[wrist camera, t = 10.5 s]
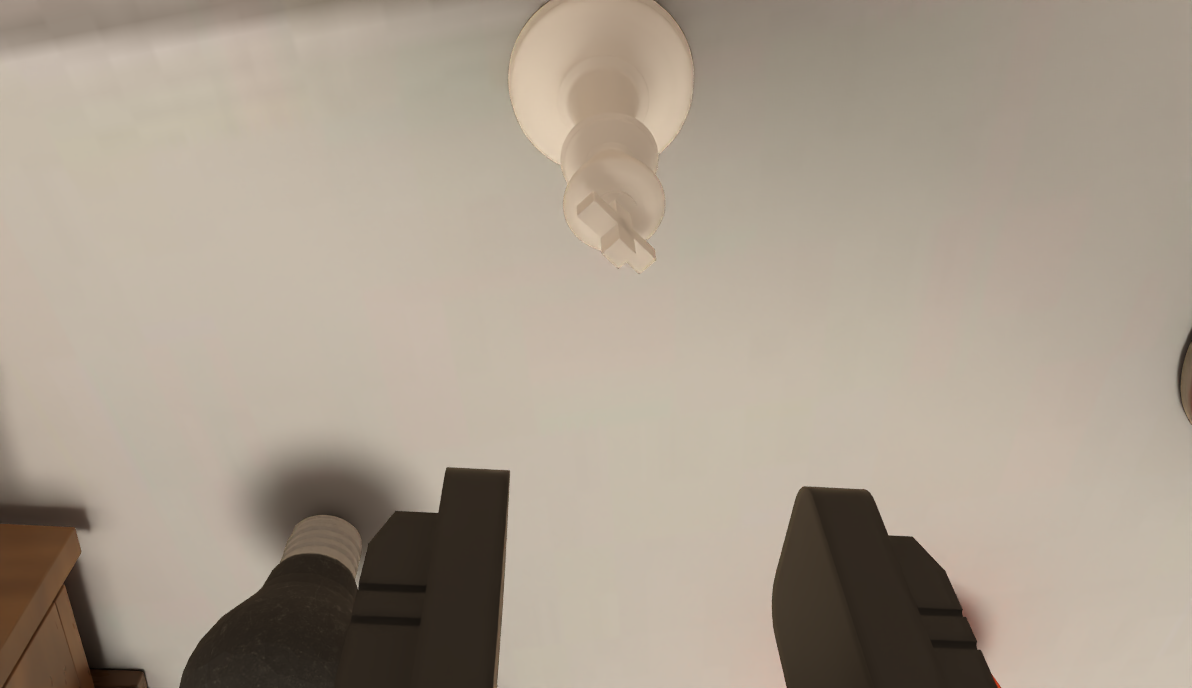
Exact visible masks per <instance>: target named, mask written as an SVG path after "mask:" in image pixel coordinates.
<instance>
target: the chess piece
mask: <svg viewBox="0 0 1192 688" xmlns="http://www.w3.org/2000/svg"><path fill="white" fill-rule="evenodd" d="M508 86H509V94H510V99H511V103H512V106H513V109H514V112H515V115H516V118H517V120H518V123H519V125H520V127H521V128H522V130H523V132H524V133H525V135H526V136H527V138H528V139H529V140H530V142H531V143H532V144H533V145H534V146H535V147H536V148H537V149H538V150H539V151H540V152H541V153H542V154H544V155H545V156H546V157H548V158H549V159H550V160H552V161H554V162H555V163H557V164H559V165H561V169H562V173H563V175H564V178H565V180H566V182H567V183H568V185H567V188H566V190H565V194H564V200H563V209H564V215H565V219H566V221H567V224H568V226H569V228H570V229H571V231H572V232H573V233H574V234H575V236H576V237H577V238H578V239H580V240H581V241H582V242H584V243H585V244H587V245H588V246H590V247H593V248H595V249H598V250H602V254H603V255H604V256H605V257H606V258H607V259H608V260H609V261H610V262H611V263H612V264H613V265H614V266H616V267H617V268H618V269H619V268H620V267H621V266H622V265H624V264H625V263H626V262H627V263H628V264H629V265H630V266H631V267H632V268H633V269H634V270H635V271H636V272H637V273H638V274H640V273H641V272H643V271H644V270H645V269H646V268H647V267H649V266H650V265H651V264H652V263H653V262H655V261H656V254H655V249H654V248H653V247H652V246H651V245H650V244H649V243H647V242H646V240H647V239H649V238H650V237H651V236H652V235H653V234H654V232H655V231H656V230H657V228H658V227H659V225H660V223H661V221H662V218H663V215H664V211H665V195H664V191H663V187H662V185H661V183H660V181H659V179H658V178H657V176H656V175H655V174H656V171H657V168H658V161H659V154H660V153H661V152H662V151H663V150H664V149H665V148H666V147H667V146H668V145H669V144H670V143H671V142H672V141H673V139H674V138H675V137H676V135H677V134H678V132H679V131H680V129H681V128H682V126H683V124H684V122H685V120H686V117H687V115H688V112H689V109H690V105H691V101H692V95H693V86H694V67H693V60H692V55H691V51H690V48H689V45H688V43H687V40H686V38H685V36H684V34H683V32H682V30H681V29H680V27H679V26H678V24H677V23H676V21H675V20H674V19H673V18H672V16H671V15H670V14H669V13H668V12H667V11H666V10H665V9H664V8H663V7H661V6H660V5H659V4H658V3H656V2H655V1H653V0H551V1H549V2H548V3H546V4H545V5H544V6H542V7H541V8H540V9H539V10H538V11H537V12H536V13H535V14H534V15H533V16H532V17H531V18H530V19H529V21H528V22H527V23H526V25H525V26H524V27H523V29H522V31H521V32H520V34H519V36H518V38H517V40H516V42H515V45H514V48H513V51H512V54H511V58H510V63H509V71H508Z"/></svg>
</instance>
